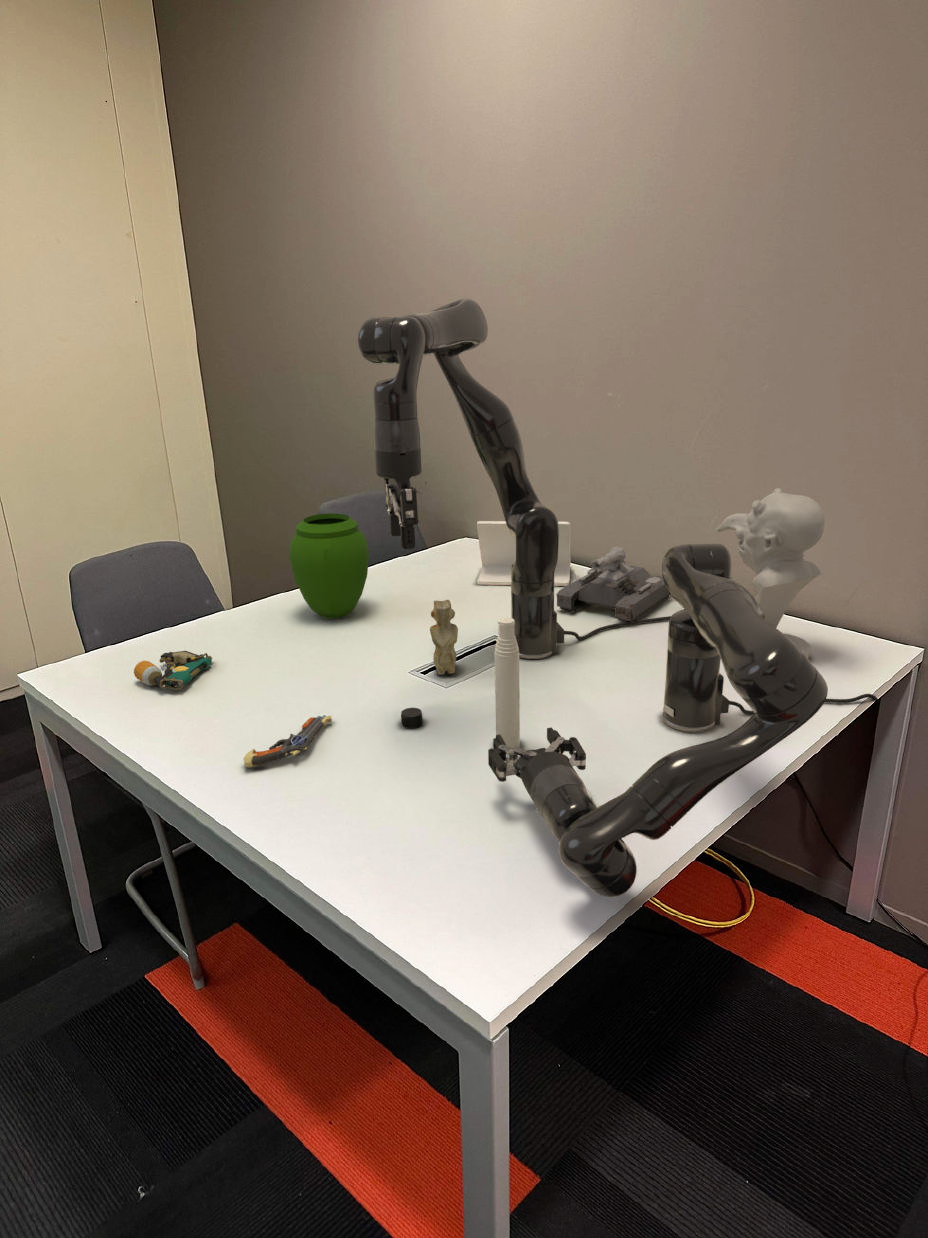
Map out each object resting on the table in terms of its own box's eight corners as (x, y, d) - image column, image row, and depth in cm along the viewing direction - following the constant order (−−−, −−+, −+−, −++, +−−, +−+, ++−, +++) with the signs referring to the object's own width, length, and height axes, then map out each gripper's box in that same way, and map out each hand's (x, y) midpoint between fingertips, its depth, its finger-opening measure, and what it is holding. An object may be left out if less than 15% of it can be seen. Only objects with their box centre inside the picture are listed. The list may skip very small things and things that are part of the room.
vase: (389, 608, 216) (383, 514, 208) (339, 633, 201) (330, 533, 192) (330, 596, 226) (322, 506, 218) (278, 619, 211) (267, 523, 202)
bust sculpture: (744, 623, 200) (759, 474, 187) (830, 658, 180) (852, 494, 167) (692, 637, 193) (703, 483, 180) (775, 674, 173) (793, 504, 160)
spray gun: (177, 659, 191) (231, 671, 185) (120, 684, 176) (176, 698, 171) (176, 641, 190) (230, 653, 184) (118, 665, 175) (174, 678, 169)
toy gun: (238, 757, 142) (294, 755, 140) (282, 713, 160) (332, 710, 158) (241, 772, 143) (297, 770, 141) (284, 726, 161) (334, 724, 159)
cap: (403, 730, 155) (403, 718, 155) (399, 720, 159) (398, 709, 158) (424, 727, 156) (424, 715, 155) (419, 717, 160) (419, 706, 159)
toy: (603, 584, 229) (605, 530, 224) (673, 597, 218) (677, 540, 213) (555, 612, 210) (556, 553, 205) (630, 627, 199) (633, 566, 194)
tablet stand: (569, 585, 229) (570, 524, 223) (476, 584, 232) (475, 523, 226) (570, 566, 246) (571, 508, 240) (484, 564, 249) (483, 507, 243)
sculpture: (458, 662, 183) (456, 596, 178) (460, 676, 176) (457, 608, 171) (431, 663, 183) (428, 597, 177) (431, 677, 176) (428, 609, 171)
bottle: (515, 738, 151) (514, 614, 143) (522, 749, 148) (522, 622, 139) (493, 742, 150) (490, 617, 142) (500, 753, 147) (498, 626, 138)
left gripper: (366, 441, 145) (373, 534, 151) (383, 454, 132) (389, 555, 138) (409, 438, 147) (414, 529, 153) (430, 451, 134) (434, 550, 140)
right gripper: (508, 819, 122) (480, 762, 137) (602, 804, 125) (565, 750, 139) (507, 773, 119) (479, 720, 134) (603, 759, 122) (566, 709, 137)
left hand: (402, 541), depth 145 cm, fingers open, 8 cm apart
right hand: (523, 736), depth 137 cm, fingers open, 8 cm apart
